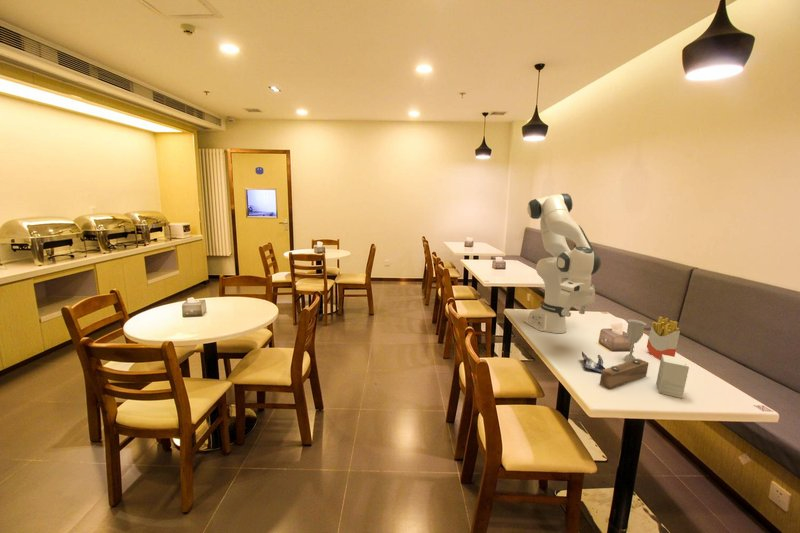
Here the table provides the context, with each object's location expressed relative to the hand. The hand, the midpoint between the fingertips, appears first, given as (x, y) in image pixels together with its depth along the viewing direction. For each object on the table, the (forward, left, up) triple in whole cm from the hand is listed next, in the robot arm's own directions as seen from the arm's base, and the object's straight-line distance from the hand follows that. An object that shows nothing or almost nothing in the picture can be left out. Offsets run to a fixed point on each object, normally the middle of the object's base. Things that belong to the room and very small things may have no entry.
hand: (574, 315), depth 156 cm
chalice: (+15, +20, -19) cm, 32 cm away
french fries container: (+18, +37, -19) cm, 46 cm away
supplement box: (+36, +8, -19) cm, 42 cm away
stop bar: (+24, 0, -19) cm, 31 cm away
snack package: (+12, -1, -19) cm, 23 cm away
